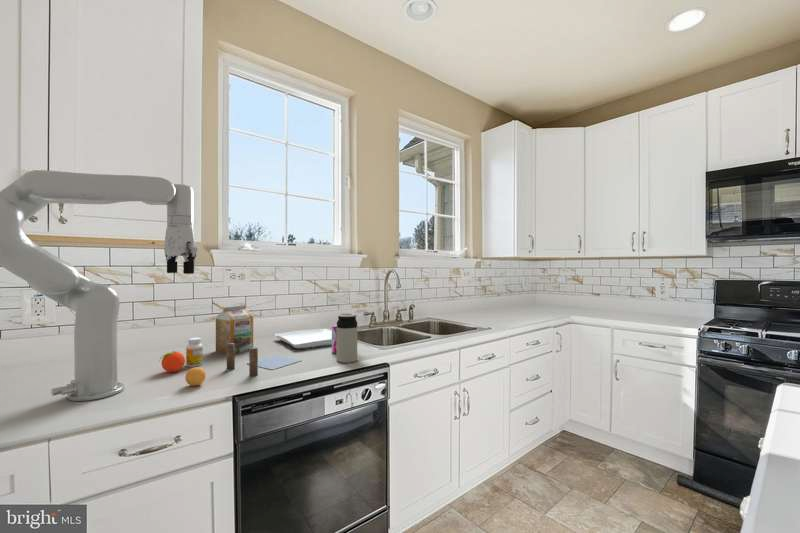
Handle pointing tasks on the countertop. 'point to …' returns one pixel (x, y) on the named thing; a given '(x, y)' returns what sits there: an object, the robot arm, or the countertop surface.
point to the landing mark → (276, 362)
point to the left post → (230, 356)
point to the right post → (253, 361)
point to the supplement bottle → (194, 352)
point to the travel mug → (346, 337)
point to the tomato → (172, 361)
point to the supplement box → (334, 339)
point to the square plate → (307, 338)
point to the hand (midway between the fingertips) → (180, 273)
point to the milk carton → (234, 329)
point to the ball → (195, 376)
